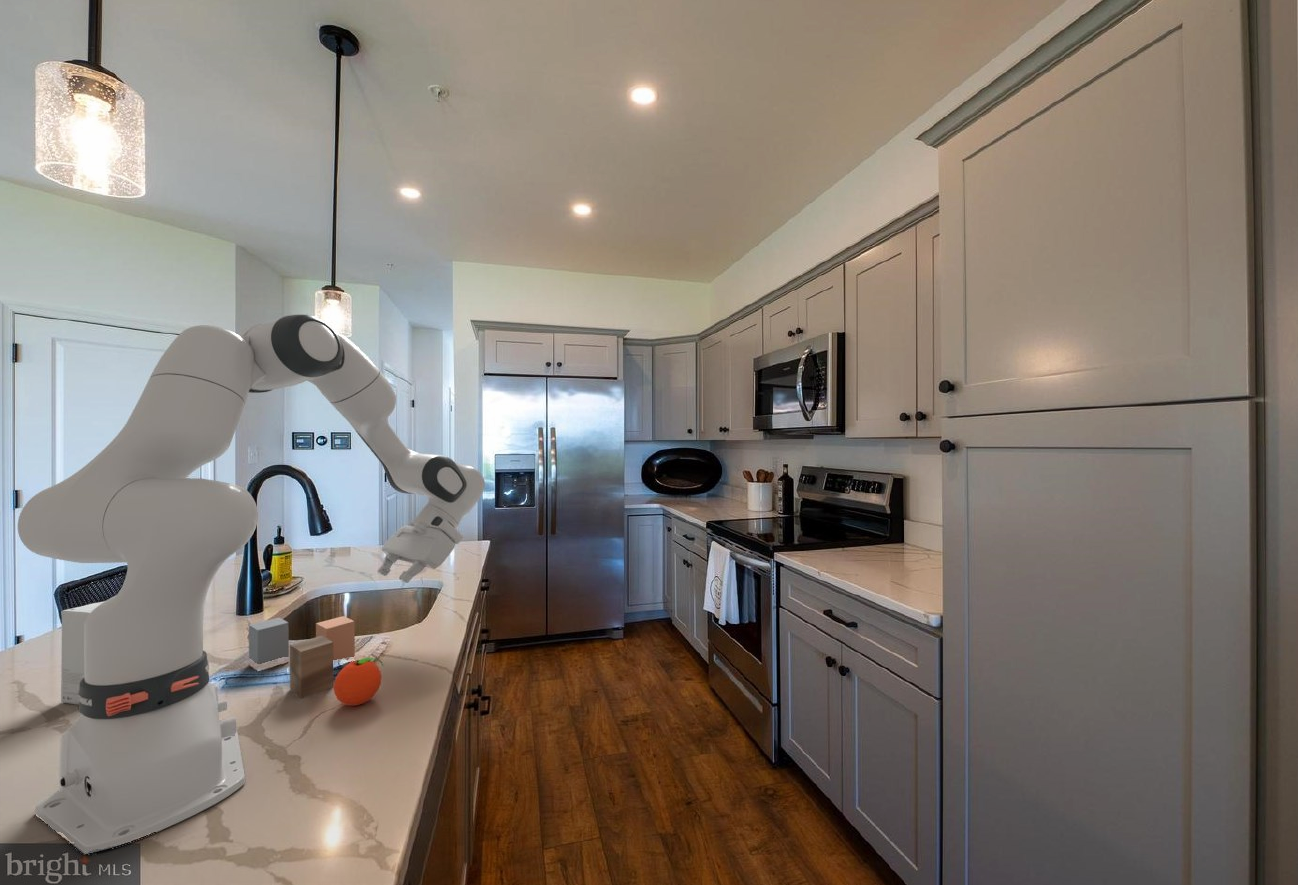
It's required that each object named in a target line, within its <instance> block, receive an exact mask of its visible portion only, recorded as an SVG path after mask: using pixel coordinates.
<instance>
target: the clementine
mask: <svg viewBox="0 0 1298 885" xmlns="http://www.w3.org/2000/svg"><path fill="white" fill-rule="evenodd" d="M372 660H377V661H379V662H380V663H381V666H384V664H383V662H382V660H381V659H378V658H375V657H366V658H361V659H356V660H355V661H353V662H350V663H347V664H345V665H344V667H342V668H341V670H340V671H339V672H338V673H337V675H336V678H335V680H334V687H333V692H334V693H333V694H334V695H335V697H336V699H337V701H339V702H340V703H341V704H343V705H347V706H352V707H355V706H359V705H362V704H364V703H367V702H368V701H369V700H371V699H372V698H373V697H374V696H375V695H376V693H377V692H378V691H379V688H380V686H381V684H382V673H381V672H382V671H381V669H380V667H378V665H377V664H376V663H375V662H373V661H372Z"/></svg>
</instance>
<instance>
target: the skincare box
mask: <svg viewBox="0 0 1298 885" xmlns="http://www.w3.org/2000/svg"><path fill="white" fill-rule="evenodd" d="M105 601H106V600H104V601H100V602H94V603H89V604H85V605H82V606H77V607H73V608H68V609H64V610H61V612H60V616H61V665H60V666H61V676H60V677H61V680H60V682H61V684H60V686H61V688H60V703H64V704H70V705H76V706H77V705H78V706H79V701H78V691H79V685H80V681H81V680H82V679H83V678H84V624H85V621H86V619H87V617H88V616H89V614H90V613H91V612H92V611H93V610H94V609H95V608H96V607H98V606H99V605H100V604H102V603H103V602H105Z"/></svg>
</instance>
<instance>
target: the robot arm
mask: <svg viewBox="0 0 1298 885" xmlns="http://www.w3.org/2000/svg"><path fill="white" fill-rule="evenodd" d="M304 382H305V383H306V382H308V383H310V384H312V385H314V386H315V387H316V388H317V389H318V390H319V391H320V393H321V394H322V395H323V396H324V397H325V398H326V400H327V401H328V402H329V403H330V404H331V405H332V406H333V407H334V408H335V410H336V411H337V412H339V414H341V416H342V417H343V418H344V419H345V420H346V421H347V422H348V423H349V424H350V425H351V427H352V428H353V429H354V431H355V432H356V433H357V435H358V437H360V439H361V440H362V441H363V443H365V445H366V446H367V447H368V448H369V449H370V452H372V453H373V455H374V456H375V457H376V458H377V460H378V462H380V464H381V466H382V468H383V470H384V472H385V475H386V479H387V482H388V483H389V485H390V486H391V487H392V488H393V490H395V491H397V492H399V493H402V494H407V495H409V494H410V495H422V496H425V497H426V498H427V499H428V502H427V503H426V505H425V506H424V507H423V508H422V509H421V510H420V512H419V513H418V514H417V515H416V516H415V517H414V519H413V520H412V522H411V523H410V524H407V525H403V526H402V527H401V526H400V528H398V530H396V532H394V533H393V534H392V535H391V536H390V537H389V538H388V539H387V540H386V541H385V542H384V543H383V545H382V547H381V552H383V553H384V554H385V557H384V559H383V561H382V563H381V564H382V565H381V566H380V567H379V568H378V569H377V573H378V574H379V575H381V576H383V577H386V576H388V575H389V573H390V572H391V571H392V570H391V567H392V566H393V565H394V564H395V563H396V562H398V561H401V562H406V563H408V564H409V563H410V564H412V565H411V567H409V568H408V569H407V570H406V571H405V570H404V571H402V573H401V574H400V575H399V576H398V578H399V580H400V581H401V582H403V583H405V584H408V583H409V582H411V580H412V579H413V577H415V576H417V575H418V574H420V573H421V572H422V571H423V570H424V569H425V568H428V569H433V570H435V569H437V568H439V567H441V565H443V563H444V562H445V561H446V559H447V558H448V557H449V556H450V554H451V553H452V552H453V551H454V550H455V547H456V545H457V544H460V543H461V541H463V538H464V536H463V534H461V532H459V531H458V530H457V528H458V527H459V526H460V524H461V521H462V519H463V518H464V517H465V516H466V515H468V514H469V513H470V511H472V509H473V508H474V507H475V506H476V505H477V502H479V500H480V498H481V496H482V495H483V493H484V490H485V487H486V482H485V481H486V480H485V478H484V477H483V475H482V473H481V472H480V471H478V470H477V469H476V467H473V466H471V465H468V464H467V465H464V464H462V463H457V462H455V461H454V460H453V459H452V458H450V457H448V456H445V455H441V454H431V453H421V452H416V451H414V450H412V449H409V447H406V445H405V444H404V443H403V441H402V440H401V439H400V437H399V436H398V435H397V434H396V432H395V430H394V429H393V428H392V427H391V425H390V424H389V421H388V418H389V417H390V416H391V414H393V412H394V410H395V408H396V403H397V395H396V392H395V390H394V389H393V387H392V385H391V383H390V382H389V380H388V379H387V378H386V376H385V375H384V374H383V372H382V371H381V370H380V369H379V368H378V367H377V366H376V364H375V363H374V362H373V361H372V360H371V359H370V357H369V356H367V355H366V353H365V352H363V351H362V350H361V349H360V347H358V346H357V345H356V344H355V343H354V342H353V341H351V340H350V339H349V338H348V337H347V336H345V335H343V334H340V333H336V331H335V330H334V329H333V328H332V327H331V326H330V325H329V324H327V323H326V322H325V321H323V320H322V319H320V318H318V317H316V316H314V315H311V314H290V315H285V316H283V317H280V318H279V319H275V320H272V321H267V322H264V323H259V324H256V325H253V326H252V327H249V328H247V329H245V330H243V331H241V332H239V333H236V332H234V331H231V330H229V329H226V328H223V327H219V326H215V325H194V326H190V327H187V328H185V330H183V331H181V332H180V333H179V334H178V335H177V336H176V338H175V339H174V340H173V341H172V343H171V344H169V346H168V347H167V348H166V350H165V351H164V353H163V354H162V355H161V356H160V358H159V360H158V362H157V364H156V365H155V367H154V368H153V370H152V372H151V374H150V376H149V379H148V380H147V382H146V385H145V387H144V389H143V390H142V393H141V395H140V397H139V398H138V401H137V403H136V404H135V406H134V408H133V410H132V412H131V415H129V417H128V419H127V421H126V422H125V424H124V426H123V427H122V429H121V430H120V431H119V432H118V433H117V435H116V436H115V437H114V438H113V439H112V441H111V442H109V444H107V445H106V447H104V449H102V450H101V451H100V452H99V453H98V454H97V455H96V456H95V457H94V458H92V460H90V461H89V462H88V463H87V464H85V465H84V466H83V467H82V468H81V469H79V470H78V471H77V472H75V473H73V474H72V475H71V476H69V477H68V478H65V479H64V480H62V481H60V482H59V483H57V484H54V485H52V486H49V487H48V488H46V489H45V488H44V489H43V490H41V491H39V492H38V493H36V494H35V495H34V496H32V497H30V498H29V500H28V501H27V502H26V503H25V504H24V506H23V508H22V510H20V511H21V512H20V514H19V516H18V520H17V534H18V535H19V536H18V537H19V538H20V540H21V542H22V544H23V546H25V547H26V549H28V550H29V551H31V552H32V553H34V554H36V555H38V556H41V557H46V558H49V559H50V558H51V559H55V560H61V561H66V562H71V563H78V564H102V563H103V564H104V563H105V564H107V563H108V564H112V563H113V564H115V563H117V564H118V563H126V565H127V566H126V567H127V568H126V569H127V571H126V575H125V579H124V582H123V584H122V586H121V588H120V590H119V592H118V593H117V594H116V595H114V596H112V597H110V598H108V599H106V600H104V601H105V602H104V601H102V602H103V603H102V604H100V605H99V606H98V607H96V608H95V609H94V610H93V611H92V612H91V613H90V614H89V616H88V617H87V619H86V621H85V624H84V678H83V679H82V680H81V681H80V685H79V691H78V701H79V705H78V711H79V713H80V714H79V716H78V717H77V719H76V720H75V721H74V722H73V723H72V724H71V725H70V726H69V727H68V728H66V729H65V731H64V732H62V733H61V735H60V747H59V748H60V750H59V767H58V768H59V770H58V772H59V773H58V790H56V791H54V792H53V793H52V794H50V795H48V796H46V797H45V798H43V799H42V800H40V801H38V803H37V804H36V805H35V811H34V814H35V813H36V814H37V815H38V816H39V817H41V818H42V819H43V820H44V821H45V822H46V823H47V824H48V825H49V826H51V828H53V829H54V830H55V831H57V832H61V833H63V834H64V835H65V836H66V837H67V838H68V839H69V840H70V841H71V842H74V844H75V846H77V847H78V848H79V849H81V850H82V851H83V852H84V853H85V854H86V853H88V852H89V851H92V850H93V849H94V850H95V849H104V848H107V847H109V846H110V847H112V846H117V845H121V844H124V843H127V842H130V843H132V842H131V841H132V840H134V839H135V838H138V837H142V836H145V835H147V834H149V833H152V832H156V833H158V832H160V831H162V830H165V829H167V828H169V827H171V826H173V825H176V824H178V823H180V822H182V821H184V820H186V819H188V818H191V817H193V816H195V815H197V814H199V813H201V812H202V811H205V810H207V809H208V808H211V807H212V806H214V805H216V804H217V803H219V802H221V801H222V800H224V799H226V798H227V797H229V796H230V795H232V794H233V793H235V792H236V791H237V790H239V789H240V788H241V787H243V785H245V783H246V776H245V770H244V763H243V762H244V761H243V756H242V752H241V746H240V745H241V744H240V740H239V739H240V738H239V734H238V730H237V717H236V716H231V717H228V718H224V719H222V720H220V714H219V713H221V712H224V711H226V710H228V704H227V703H228V702H227V700H226V699H224V700H220V701H219V696H218V695H219V692H218V691H219V686H218V685H216V684H214V683H212V682H210V673H209V670H210V665H209V663H210V662H209V660H208V655H207V651H205V650H204V622H205V621H204V619H205V618H204V617H205V604H206V599H207V595H208V592H209V588H210V586H211V584H212V581H213V579H214V577H215V575H216V574H217V572H218V571H219V569H220V568H221V567H222V565H223V564H224V563H225V562H226V561H227V560H228V559H229V558H230V557H232V555H234V554H235V553H237V552H238V551H240V550H241V549H242V548H243V547H245V545H246V544H247V543H248V542H249V541H250V539H251V538H252V536H253V535H254V532H255V530H256V528H257V524H258V521H259V511H258V506H257V503H256V501H255V499H254V497H253V496H252V494H251V493H250V492H249V491H248V490H247V489H246V488H244V487H243V486H241V485H238V484H234V483H229V482H224V481H219V480H218V481H217V480H213V479H207V478H201V477H200V478H197V477H196V478H188V477H189V476H190V475H191V474H192V473H194V472H196V470H198V469H199V468H201V467H202V466H206V465H207V464H209V463H211V462H213V461H214V460H216V459H219V458H220V457H221V456H222V455H223V454H225V452H227V450H228V449H229V447H230V446H231V443H232V440H233V437H234V436H235V432H236V430H237V427H238V426H239V425H238V424H239V422H240V419H241V417H242V413H243V410H244V408H245V405H246V402H247V399H248V395H249V393H252V394H259V393H268V392H271V391H274V390H277V389H278V390H279V389H283V388H286V387H293V386H297V385H299V384H302V383H304ZM49 826H48V827H49ZM51 828H50V829H51ZM54 830H53V831H54ZM55 831H54V832H55ZM85 854H84V855H85Z"/></svg>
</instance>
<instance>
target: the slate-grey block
mask: <svg viewBox="0 0 1298 885" xmlns="http://www.w3.org/2000/svg"><path fill="white" fill-rule="evenodd" d="M289 632H290V631H289V622H288V621H287V620H285V619H283V618H281V617H276V618H271V619H268V620H263V621H260V622H259V621H258V622H255V623H252V624H251V623H250V624H249V625H248V659H249V658H250V659H252V660H253V661H254V662H255V663H257V664H262V663H265V662H268V661H272V660H275V659H278V658H282V657H289V658H290V644H289V635H290V634H289Z"/></svg>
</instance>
